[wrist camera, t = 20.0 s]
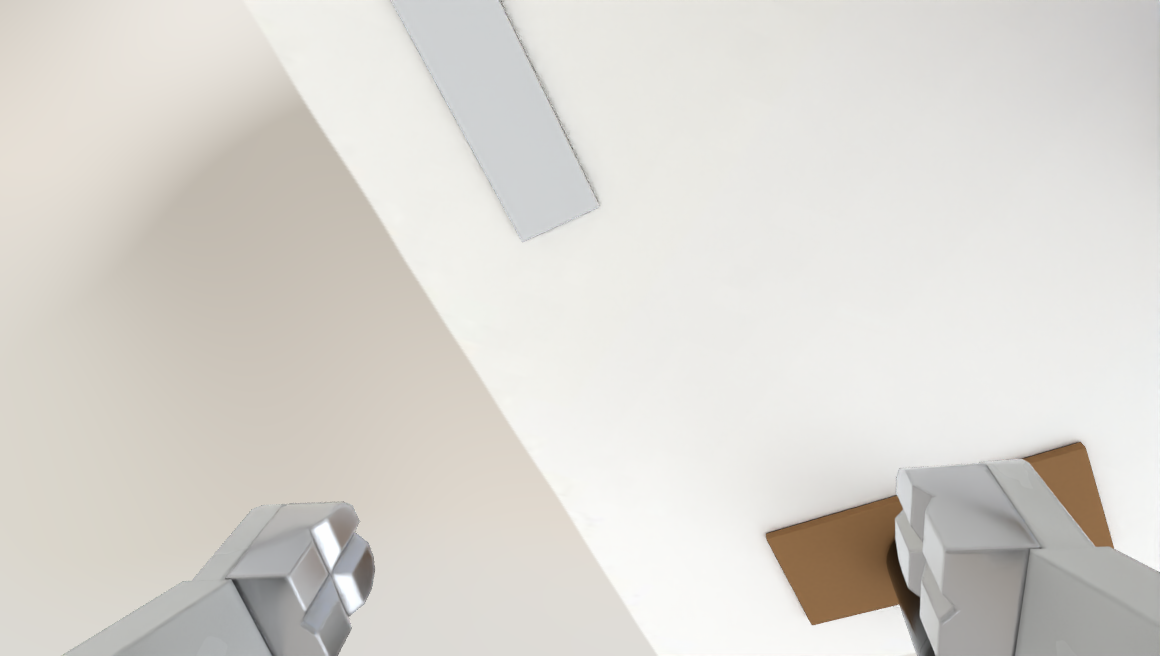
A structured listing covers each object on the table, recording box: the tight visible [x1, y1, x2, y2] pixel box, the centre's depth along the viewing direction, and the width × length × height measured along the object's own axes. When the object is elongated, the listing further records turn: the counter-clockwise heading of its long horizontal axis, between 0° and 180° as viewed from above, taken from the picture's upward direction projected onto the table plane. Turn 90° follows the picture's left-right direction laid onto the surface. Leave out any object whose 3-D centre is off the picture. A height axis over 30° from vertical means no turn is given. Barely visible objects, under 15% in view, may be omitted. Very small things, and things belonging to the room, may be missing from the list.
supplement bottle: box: [886, 539, 936, 656], centre depth 39 cm, size 7×7×12 cm
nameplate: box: [391, 0, 600, 242], centre depth 34 cm, size 22×1×5 cm
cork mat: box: [766, 442, 1114, 625], centre depth 45 cm, size 20×9×1 cm, turn 118°
